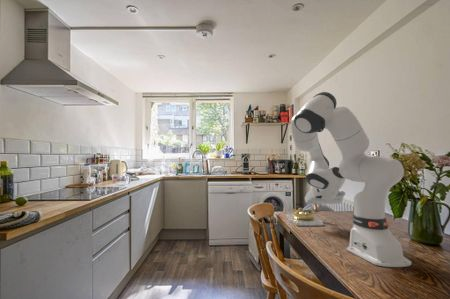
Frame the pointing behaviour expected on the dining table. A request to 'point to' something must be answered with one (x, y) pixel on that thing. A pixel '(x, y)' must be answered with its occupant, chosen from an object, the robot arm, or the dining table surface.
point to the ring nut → (305, 213)
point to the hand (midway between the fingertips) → (319, 206)
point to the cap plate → (304, 221)
